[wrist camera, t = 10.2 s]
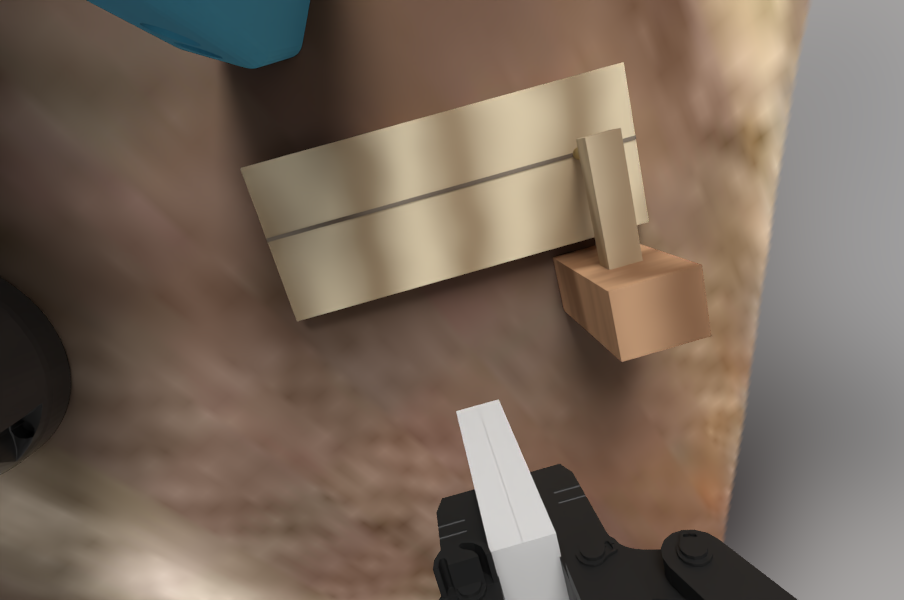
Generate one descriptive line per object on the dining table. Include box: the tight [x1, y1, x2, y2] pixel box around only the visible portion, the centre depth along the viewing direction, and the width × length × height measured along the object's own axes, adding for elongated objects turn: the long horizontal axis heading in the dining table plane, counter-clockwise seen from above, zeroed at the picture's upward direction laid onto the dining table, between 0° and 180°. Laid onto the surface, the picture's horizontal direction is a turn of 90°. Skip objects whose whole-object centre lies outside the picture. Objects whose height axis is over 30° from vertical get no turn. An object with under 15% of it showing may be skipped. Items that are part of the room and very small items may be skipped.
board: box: [240, 62, 649, 321], centre depth 33 cm, size 24×10×2 cm, turn 105°
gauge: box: [553, 128, 711, 362], centre depth 30 cm, size 5×12×10 cm, turn 15°
